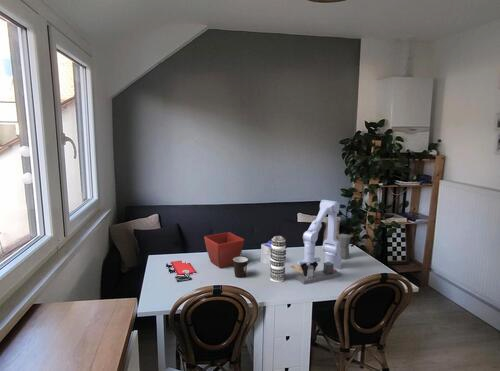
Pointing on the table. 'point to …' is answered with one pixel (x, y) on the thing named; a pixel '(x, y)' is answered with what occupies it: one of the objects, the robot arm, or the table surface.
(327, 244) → the robot arm
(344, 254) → the coffeepot
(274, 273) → the decorative candle
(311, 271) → the grey plug
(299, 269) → the cork mat
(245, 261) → the coffee mug
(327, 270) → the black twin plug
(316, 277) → the power strip
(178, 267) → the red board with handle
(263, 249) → the ink cartridge box
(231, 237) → the plant pot
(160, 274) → the table surface
